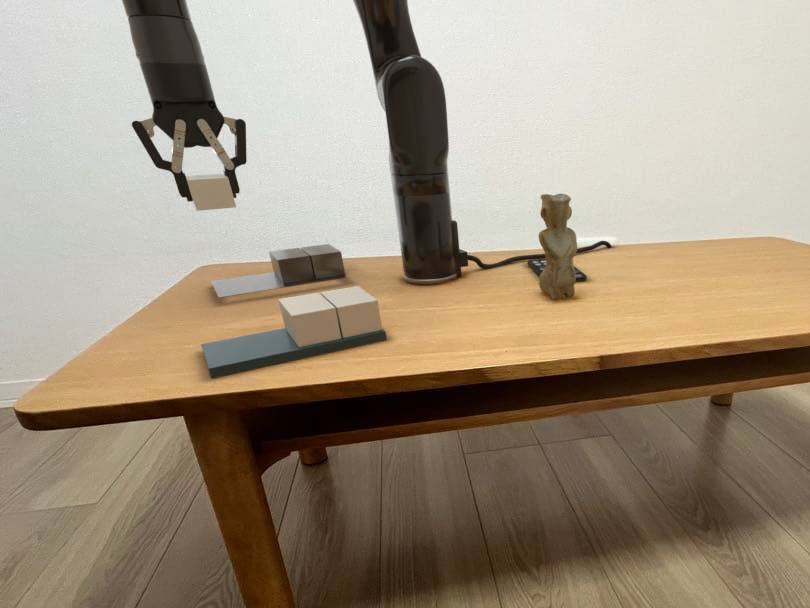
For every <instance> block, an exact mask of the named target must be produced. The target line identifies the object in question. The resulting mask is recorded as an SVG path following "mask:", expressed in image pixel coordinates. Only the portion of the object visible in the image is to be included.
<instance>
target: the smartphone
mask: <svg viewBox="0 0 810 608" xmlns="http://www.w3.org/2000/svg"><path fill="white" fill-rule="evenodd" d="M526 263H527V265H528V266H529V267H530V268H531V270H533V271H534V273H536V274H537V275H538V276H539V277H540V275H541V273H542V271H543V270H544V268H545V267H546V259H532V260H526ZM574 269H575V275H576V281H575V282H580V281H581V282H582V281H583V282H584V281H586V280H587V278H588V276H587V275H586V274H585V273H583V271H581V270H580V269H579V268H578V267H576V266H574Z"/></svg>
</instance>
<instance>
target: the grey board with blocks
mask: <svg viewBox="0 0 810 608" xmlns="http://www.w3.org/2000/svg"><path fill="white" fill-rule="evenodd" d="M268 255H269V259H270V262H271V266H272V270H273V271H272V272H271V271H270V272H265V273H258V274H257V273H256V274H250V275H244V276H237V277H231V278H223V279H215V280H211V282H210V283H211V284H212V286H213V288H214V290H215V292H216V295H217V297H218V298H220V299H221V298H226V297H233V296H238V295H239V296H240V295H246V294H252V293H259V292H263V291H264V292H265V291H271V290H277V289H278V290H279V289H284V288H291V287H297V286H304V285H309V284H316V283H323V282H329V281H335V280H341V279H346V278H347V279H348V278H349V276H348V275H346V271H345V266H344V260H343V254H342V251H341V250H339V249H338V248H336V247H334V246H332V245H331V244H329V243H327V244H326V243H325V244H316V245H310V246H301V247H295V248H294V247H293V248H287V249H278V250H271V251H268Z"/></svg>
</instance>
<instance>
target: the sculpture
mask: <svg viewBox="0 0 810 608" xmlns="http://www.w3.org/2000/svg"><path fill="white" fill-rule="evenodd" d="M540 199H541V208H540V217H541V219H542V220H543V221H544V224H545V227H546V228H545V229H542V230H540V231H539V233H538V241H539V244H540V246H541V248H542V250H543V252H544V254H545V256H546V267H545V268H544V270H543V271H542V273H541V275H540V276H539V278H538V286H539V289H540V291H542V292H543V293H545V294H550V298H551V299H552V300H559V299H561V298H562V297H563V296H564V297H565V298H572V297H574V296H575V284H576V282H577V281H576V275H575V269H574V267H575V265H574V257H575V255H577V254H576V252H577V249H578V241H577V234H576V232H575V231H574V230H573V228H571V227H568V226H567V225H568V221H569V220H570V219H571V217H572V215H573V210H572V207H571V205H570V202H571V200H572V197H570V196H569V195H568V194H566V193H557V194H554V195H553V194H549V193H544V194H541V195H540Z"/></svg>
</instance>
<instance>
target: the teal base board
mask: <svg viewBox="0 0 810 608" xmlns="http://www.w3.org/2000/svg"><path fill="white" fill-rule="evenodd" d="M278 304H279V308H280V312H281V316H282V321H283V324H284V327H283V328H278V329H274V330H268V331H263V332H258V333H257V332H256V333H251V334H247V335H246V334H245V335H241V336H237V337H231V338H226V339H221V340H216V341H210V342H205V343H201V345H200V346H201V349H202V351H203V355H204V359H205V362H206V366H207V369H208V372H209V375H210V378H211V379H215V378H220V377H223V376H229V375H233V374H237V373H242V372H247V371H251V370H252V371H253V370H256V369H261V368H265V367H269V366H274V365H278V364H283V363H284V364H285V363H287V362H292V361H297V360H302V359H306V358H311V357H315V356H319V355H324V354H328V353H333V352H338V351H342V350H346V349H351V348H355V347H360V346H365V345H369V344H374V343H379V342H383V341H387V340H388V339H387V332H386V330H385V329H384V328H383V325H382V318H381V312H380V307H379V300H378V299H377V298H375V297H374V296H373V295H371V294H370V293H368V292H367V291H366V290H365V289H363V288H362V287H360V286H359V285H355V286H350V287H344V288H343V287H342V288H337V289H332V290H326V291H325V290H324V291H320V292H314V293H313V292H312V293H307V294H301V295H296V296H290V297H289V296H288V297H283V298H278Z"/></svg>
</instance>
